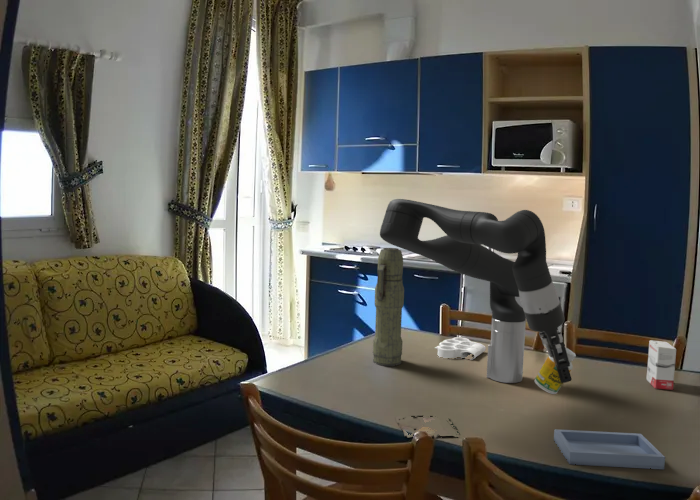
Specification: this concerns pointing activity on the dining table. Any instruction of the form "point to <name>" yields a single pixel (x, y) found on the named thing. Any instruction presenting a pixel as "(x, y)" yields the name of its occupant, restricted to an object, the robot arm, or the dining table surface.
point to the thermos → (388, 308)
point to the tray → (608, 449)
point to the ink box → (661, 365)
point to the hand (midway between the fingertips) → (562, 374)
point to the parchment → (425, 427)
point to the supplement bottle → (552, 374)
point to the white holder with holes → (459, 348)
